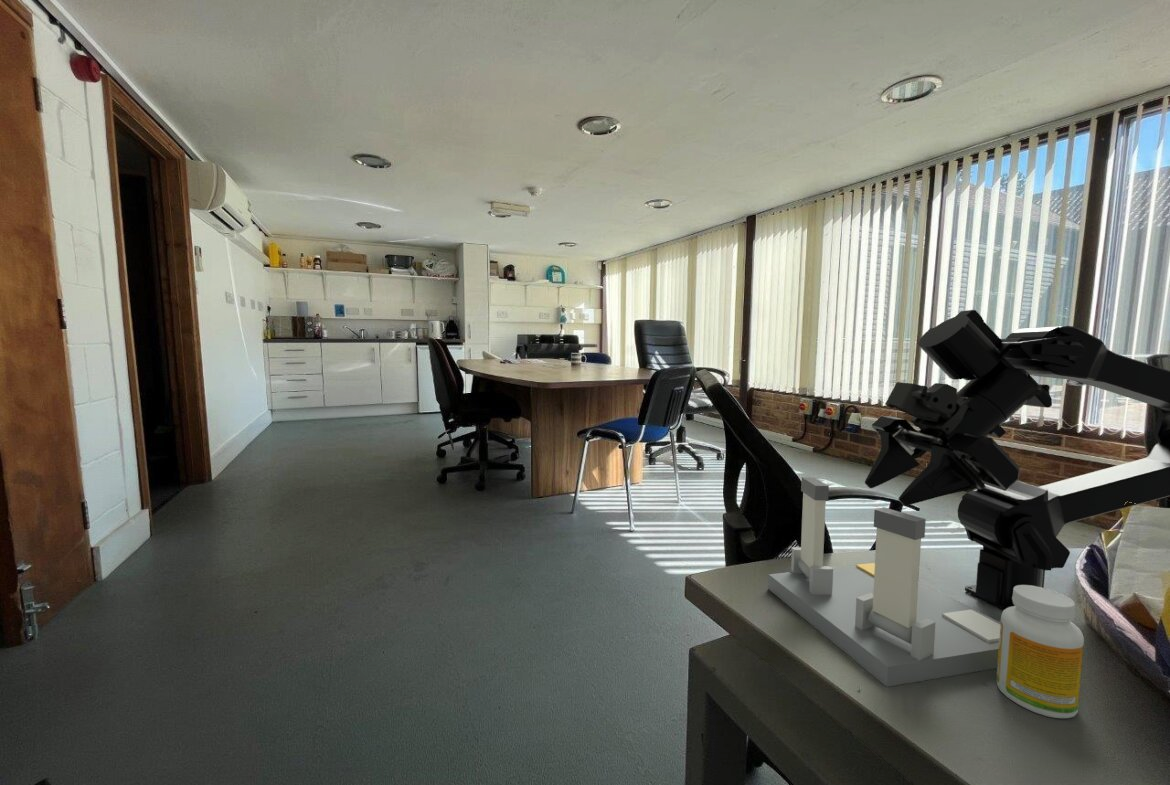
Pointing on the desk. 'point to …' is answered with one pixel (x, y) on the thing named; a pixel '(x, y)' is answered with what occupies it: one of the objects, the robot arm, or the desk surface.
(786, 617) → the desk surface
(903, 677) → the grey base plate
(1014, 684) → the supplement bottle
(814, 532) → the switch
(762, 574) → the desk surface
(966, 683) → the desk surface
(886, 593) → the switch
